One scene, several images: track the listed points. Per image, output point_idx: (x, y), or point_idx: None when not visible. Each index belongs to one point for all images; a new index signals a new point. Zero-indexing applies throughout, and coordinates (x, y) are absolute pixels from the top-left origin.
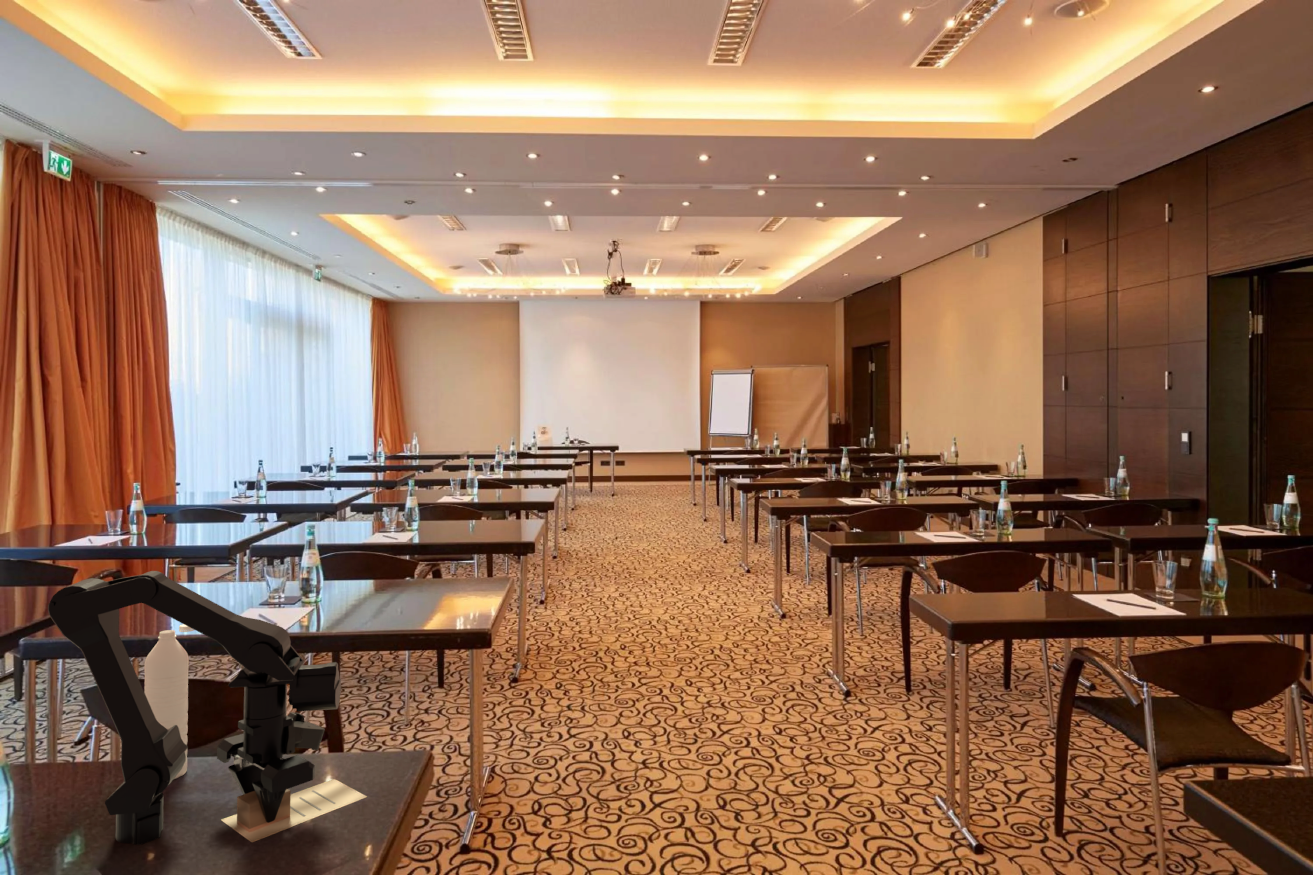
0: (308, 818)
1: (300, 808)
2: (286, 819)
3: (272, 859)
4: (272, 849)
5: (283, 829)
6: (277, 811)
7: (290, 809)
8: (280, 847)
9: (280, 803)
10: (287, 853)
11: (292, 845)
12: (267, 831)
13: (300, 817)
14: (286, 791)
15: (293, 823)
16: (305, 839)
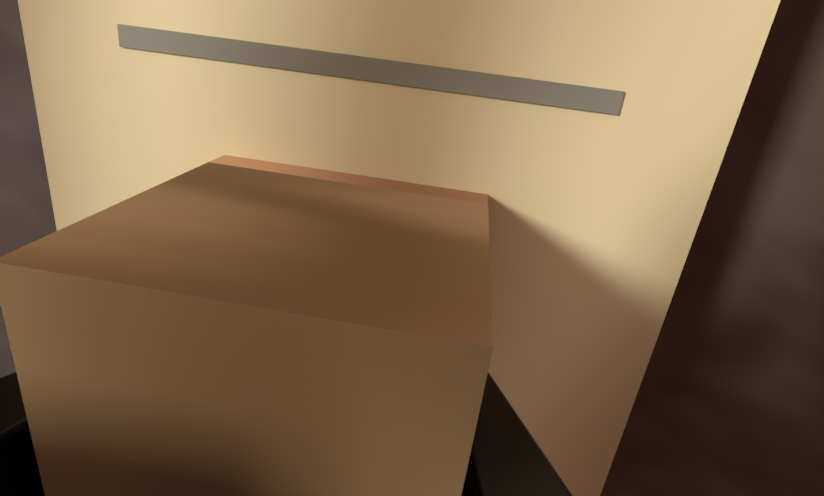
0: (705, 114)
1: (413, 8)
2: (503, 244)
3: (765, 493)
4: (658, 424)
5: (640, 365)
6: (518, 417)
7: (345, 90)
8: (691, 389)
9: (562, 481)
10: (811, 416)
11: (758, 337)
12: (545, 437)
13: (596, 145)
14: (458, 396)
15: (633, 257)
16: (794, 235)
